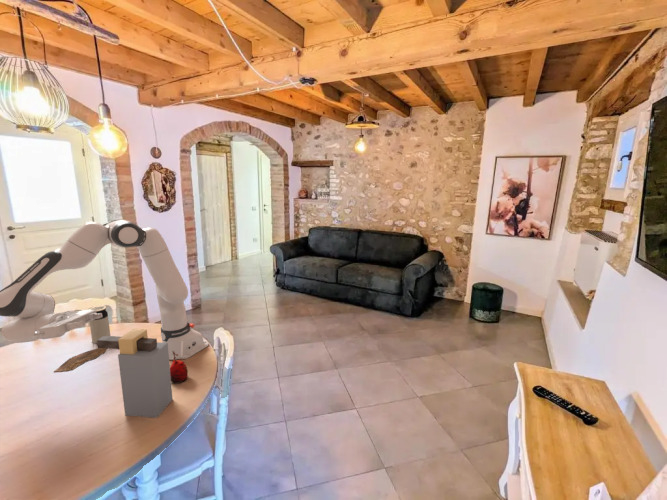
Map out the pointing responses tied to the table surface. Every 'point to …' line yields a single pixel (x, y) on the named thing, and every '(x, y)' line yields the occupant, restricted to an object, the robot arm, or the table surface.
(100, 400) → the table surface
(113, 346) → the block
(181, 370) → the red clay folk toy
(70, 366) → the wooden fragment
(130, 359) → the post
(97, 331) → the travel mug
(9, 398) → the table surface
